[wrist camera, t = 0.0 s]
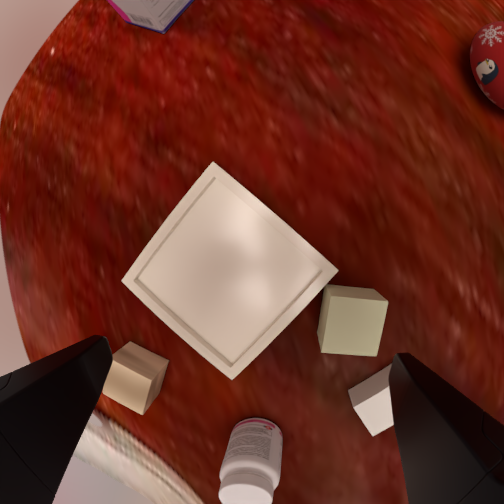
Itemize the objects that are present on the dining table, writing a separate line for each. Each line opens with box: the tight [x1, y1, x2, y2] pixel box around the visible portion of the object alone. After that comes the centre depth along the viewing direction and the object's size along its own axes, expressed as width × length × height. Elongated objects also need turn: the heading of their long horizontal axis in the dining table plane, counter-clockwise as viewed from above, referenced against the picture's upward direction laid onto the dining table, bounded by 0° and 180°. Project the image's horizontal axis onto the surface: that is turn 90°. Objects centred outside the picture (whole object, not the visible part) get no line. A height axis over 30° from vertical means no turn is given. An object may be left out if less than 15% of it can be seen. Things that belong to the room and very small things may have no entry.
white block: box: [348, 364, 394, 436], centre depth 23 cm, size 5×4×3 cm
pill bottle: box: [219, 418, 283, 504], centre depth 22 cm, size 5×5×8 cm
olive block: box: [317, 284, 388, 356], centre depth 22 cm, size 4×4×4 cm
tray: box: [122, 162, 339, 380], centre depth 24 cm, size 12×12×1 cm
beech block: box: [103, 341, 169, 415], centre depth 24 cm, size 4×4×4 cm
